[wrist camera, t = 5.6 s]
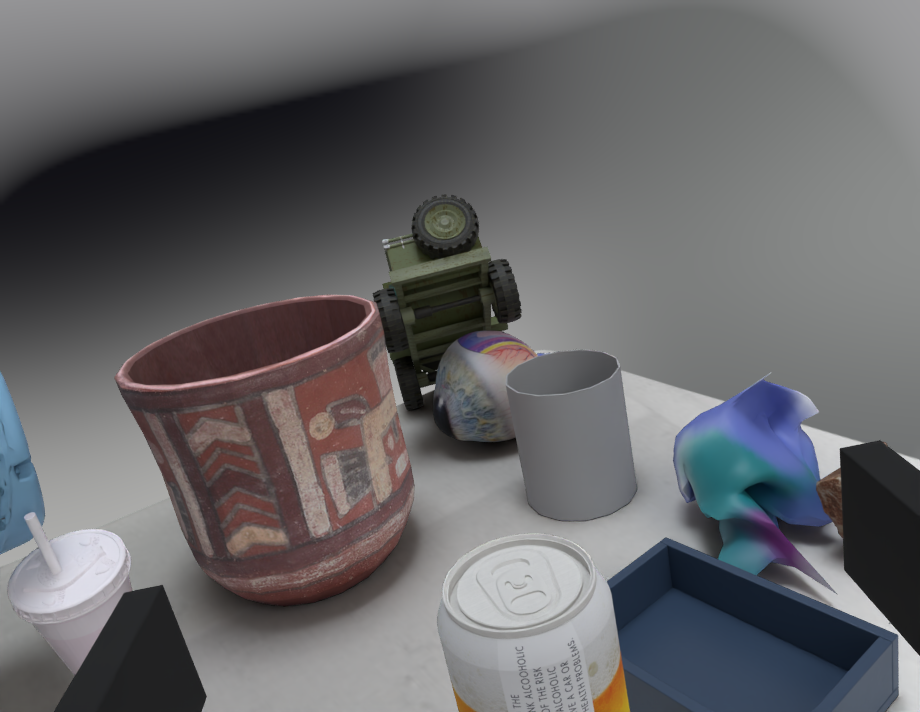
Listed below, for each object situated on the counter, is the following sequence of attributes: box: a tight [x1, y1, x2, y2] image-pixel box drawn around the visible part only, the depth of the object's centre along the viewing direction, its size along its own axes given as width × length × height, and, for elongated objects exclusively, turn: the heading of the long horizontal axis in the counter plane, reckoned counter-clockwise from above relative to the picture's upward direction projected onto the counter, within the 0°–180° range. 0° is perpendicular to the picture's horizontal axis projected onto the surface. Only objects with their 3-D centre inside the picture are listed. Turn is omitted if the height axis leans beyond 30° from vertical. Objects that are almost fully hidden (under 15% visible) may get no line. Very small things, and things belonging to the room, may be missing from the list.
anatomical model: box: [433, 331, 550, 442], centre depth 69 cm, size 10×12×10 cm
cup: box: [506, 349, 637, 521], centre depth 57 cm, size 8×8×10 cm
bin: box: [607, 538, 898, 712], centre depth 39 cm, size 10×13×4 cm
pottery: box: [115, 295, 415, 606], centre depth 55 cm, size 18×18×18 cm
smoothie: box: [7, 512, 132, 676], centre depth 45 cm, size 6×6×14 cm
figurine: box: [673, 376, 838, 595], centre depth 50 cm, size 13×12×9 cm
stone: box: [816, 442, 888, 538], centre depth 46 cm, size 7×6×5 cm
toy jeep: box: [373, 195, 521, 410], centre depth 74 cm, size 12×25×11 cm
